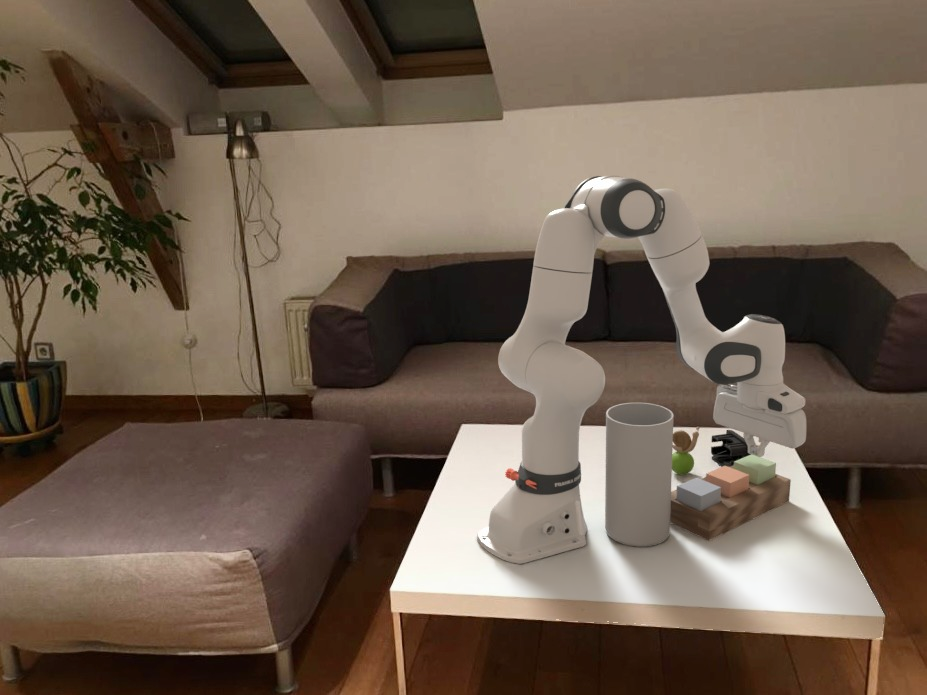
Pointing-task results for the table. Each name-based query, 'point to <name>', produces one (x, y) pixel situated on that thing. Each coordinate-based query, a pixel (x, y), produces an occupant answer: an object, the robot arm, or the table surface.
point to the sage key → (756, 468)
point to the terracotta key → (729, 480)
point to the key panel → (730, 508)
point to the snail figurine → (683, 451)
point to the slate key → (698, 494)
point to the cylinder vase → (638, 473)
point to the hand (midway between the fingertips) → (755, 454)
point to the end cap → (729, 448)
